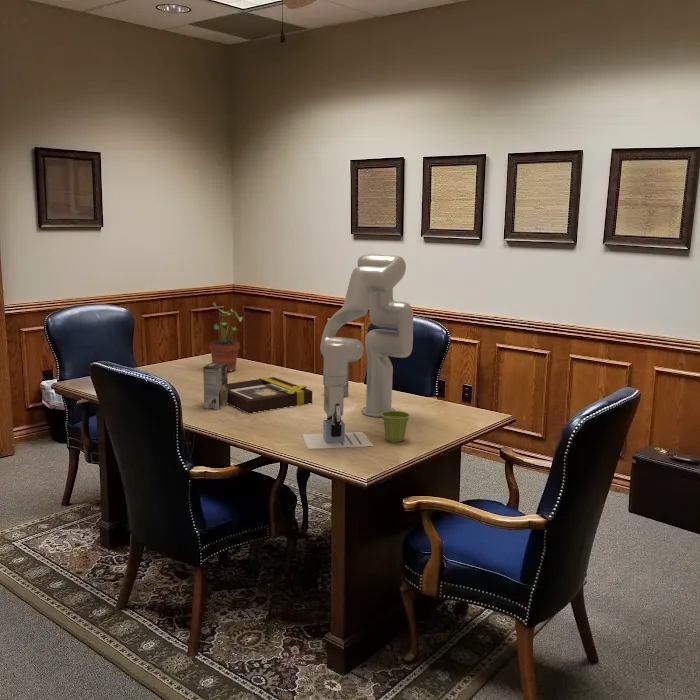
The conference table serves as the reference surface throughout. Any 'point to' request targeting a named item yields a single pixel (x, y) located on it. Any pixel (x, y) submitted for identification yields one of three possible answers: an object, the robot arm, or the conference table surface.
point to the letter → (349, 441)
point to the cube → (327, 432)
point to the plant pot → (395, 425)
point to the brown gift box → (267, 394)
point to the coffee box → (215, 385)
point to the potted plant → (225, 344)
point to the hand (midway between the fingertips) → (333, 432)
